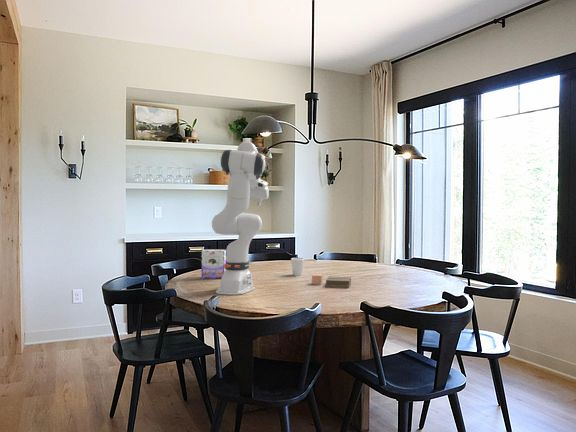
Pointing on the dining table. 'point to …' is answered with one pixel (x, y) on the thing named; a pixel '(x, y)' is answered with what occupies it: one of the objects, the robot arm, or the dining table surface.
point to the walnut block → (338, 282)
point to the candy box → (213, 263)
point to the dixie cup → (297, 266)
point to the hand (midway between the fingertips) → (251, 204)
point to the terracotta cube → (317, 279)
